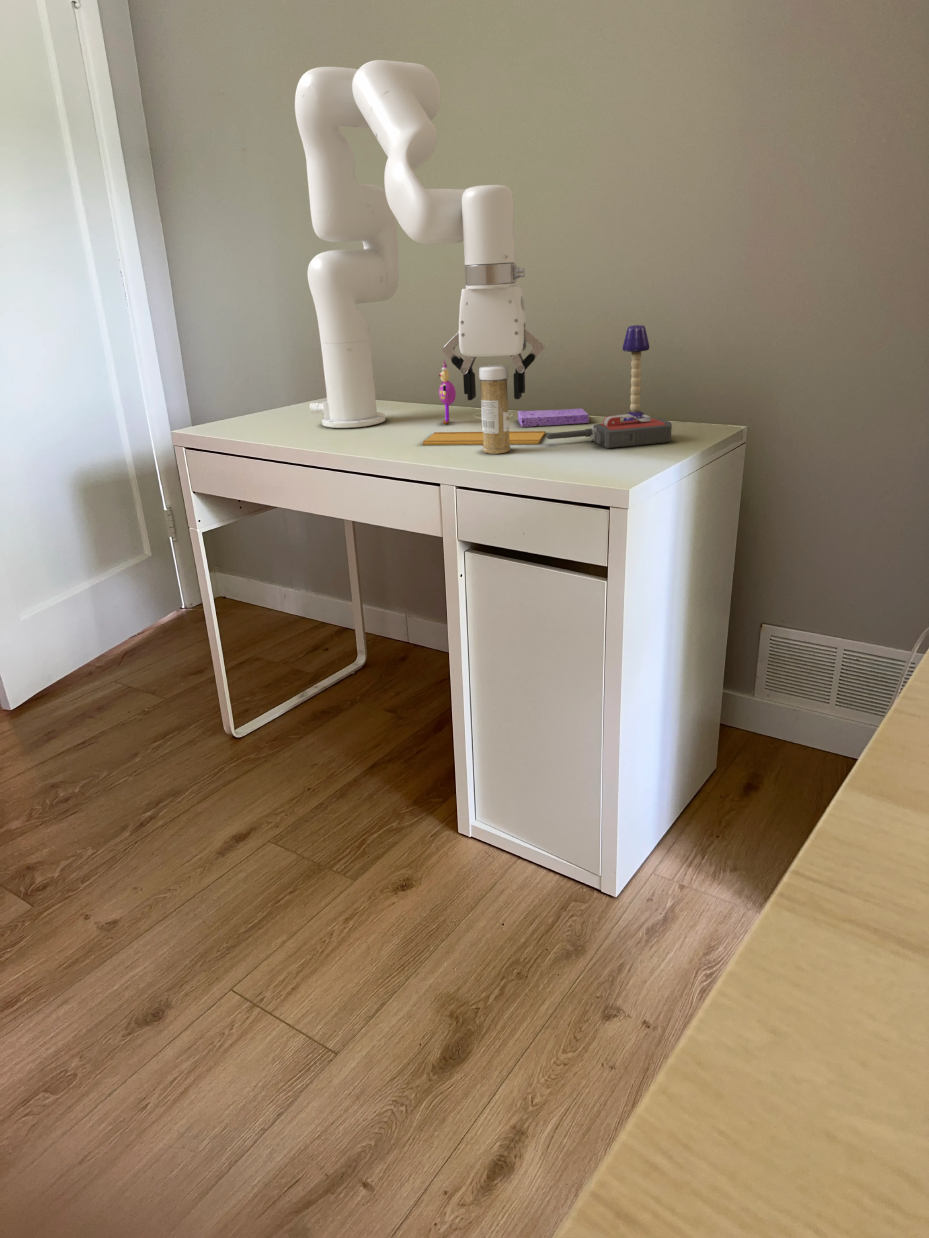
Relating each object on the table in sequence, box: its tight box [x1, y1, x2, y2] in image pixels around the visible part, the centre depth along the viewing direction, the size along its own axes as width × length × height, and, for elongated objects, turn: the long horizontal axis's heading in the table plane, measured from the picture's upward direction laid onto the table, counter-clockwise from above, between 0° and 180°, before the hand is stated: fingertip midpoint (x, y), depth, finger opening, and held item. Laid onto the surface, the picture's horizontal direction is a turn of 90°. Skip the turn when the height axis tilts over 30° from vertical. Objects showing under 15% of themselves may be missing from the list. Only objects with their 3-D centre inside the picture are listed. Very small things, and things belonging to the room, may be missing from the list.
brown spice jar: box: [478, 364, 511, 455], centre depth 135 cm, size 5×5×14 cm
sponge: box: [517, 408, 590, 428], centre depth 159 cm, size 7×13×2 cm, turn 91°
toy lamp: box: [622, 324, 650, 422], centre depth 152 cm, size 5×5×17 cm
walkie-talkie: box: [546, 413, 673, 449], centre depth 139 cm, size 9×4×20 cm
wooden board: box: [422, 430, 546, 446], centre depth 148 cm, size 20×9×1 cm, turn 77°
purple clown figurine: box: [438, 358, 457, 425], centre depth 161 cm, size 11×3×12 cm, turn 179°
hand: (494, 397), depth 135 cm, fingers open, 6 cm apart
